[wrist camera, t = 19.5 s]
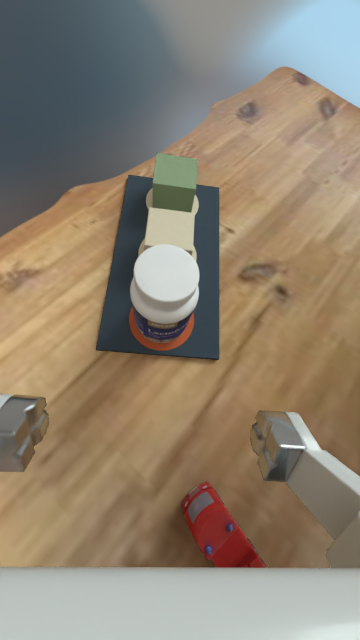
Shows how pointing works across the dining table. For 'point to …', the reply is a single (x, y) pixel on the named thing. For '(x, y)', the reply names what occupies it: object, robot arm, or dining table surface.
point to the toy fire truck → (218, 530)
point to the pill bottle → (164, 292)
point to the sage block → (174, 182)
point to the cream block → (170, 229)
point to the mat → (118, 310)
